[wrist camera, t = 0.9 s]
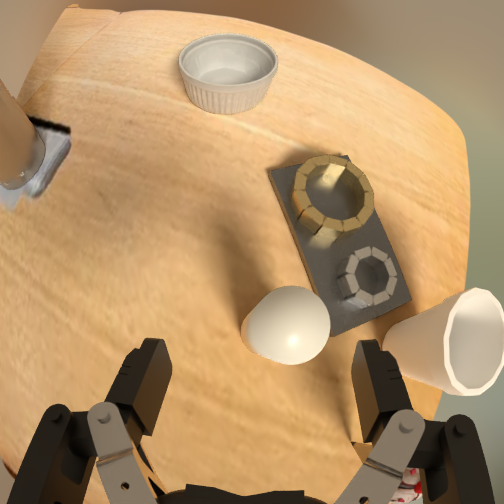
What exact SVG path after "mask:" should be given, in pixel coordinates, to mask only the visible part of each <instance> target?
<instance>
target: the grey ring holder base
mask: <svg viewBox="0 0 504 504" xmlns="http://www.w3.org/2000/svg"><path fill="white" fill-rule="evenodd" d="M363 174H364V173H363V172H362V171H361V170H360V169H359V168H357V167H356V166H355V165H354V164H352V163H351V161H350V159H349V157H348V155H345V156H339V157H336V156H332V155H329V156H328V155H322V156H317V157H312V158H310V159H308V160H307V161H306V162H305V163H304V164H299V165H295V166H290V167H285V168H281V169H276V170H272V171H270V172H269V175H268V177H269V179H270V182H271V184H272V186H273V189H274V191H275V194H276V196H277V198H278V201H279V203H280V206H281V208H282V211H283V213H284V216H285V218H286V221H287V223H288V226H289V228H290V231H291V233H292V236H293V238H294V241H295V243H296V246H297V249H298V251H299V254H300V256H301V259H302V262H303V264H304V267H305V269H306V272H307V275H308V277H309V280H310V283H311V285H312V288H313V291H314V293H315V294H316V295H317V296H318V297H319V298H320V299H321V300H322V301H323V303H324V304H325V306H326V308H327V310H328V313H329V317H330V333H329V335H330V337H334V336H336V335H339V334H341V333H343V332H345V331H348V330H350V329H352V328H355V327H357V326H359V325H361V324H363V323H366V322H368V321H370V320H372V319H374V318H376V317H378V316H381V315H383V314H385V313H387V312H389V311H391V310H393V309H395V308H397V307H399V306H401V305H403V304H405V303H407V302H409V301H411V300H412V299H411V296H410V293H409V291H408V288H407V285H406V282H405V280H404V277H403V274H402V272H401V269H400V267H399V264H398V262H397V259H396V257H395V254H394V252H393V249H392V247H391V244H390V242H389V240H388V237H387V235H386V233H385V231H384V228H383V226H382V224H381V222H380V219H379V217H378V215H377V213H376V211H375V208H374V193H373V189H372V187H371V185H370V183H369V181H368V179H367V177H366V175H365V174H364V175H363Z"/></svg>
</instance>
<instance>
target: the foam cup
mask: <svg viewBox="0 0 504 504" xmlns="http://www.w3.org/2000/svg"><path fill="white" fill-rule="evenodd" d="M382 351H389V352H390V353H391V354H392V355H393V356H394V357H395V359H396V361H397V363H398V366H399V371H400V372H401V375H404V376H406V377H409V378H412V379H415V380H417V381H420V382H423V383H425V384H428V385H431V386H434V387H437V388H440V389H442V390H444V391H445V392H446V393H448V394H454V395H461V396H470V395H480V394H482V393H483V392H484V391H485V390H487V389H488V388H489V387H490V386H491V385H492V384H494V382H495V380H496V378H497V377H498V375H499V373H500V371H501V369H502V367H503V365H504V312H503V310H502V307H501V304H500V303H499V302H498V301H497V299H496V298H495V297H494V296H493V295H492V294H491V292H489V291H487V290H483V289H479V288H472V289H469V290H466V291H462V292H459V293H457V294H455V295H453V296H451V297H449V298H446V299H444V301H443V302H442V303H441V304H439V305H437V306H434V307H432V308H430V309H428V310H426V311H424V312H421V313H419V314H417V315H415V316H413V317H410V318H408V319H406V320H403V321H401V322H399V323H396V324H394V325H393V326H392V327H391V328H390V329H389V330H388V332H387V333H386V335H385V338H384V341H383V344H382Z"/></svg>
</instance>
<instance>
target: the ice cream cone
mask: <svg viewBox="0 0 504 504" xmlns="http://www.w3.org/2000/svg"><path fill="white" fill-rule="evenodd" d="M351 444H352V445H353V447H354V449H355V450H356V452H357V454H358V456H359V457H360V459H361V461H362V463H364V462H365V460H366V459H367V457H368V456H369V454H370V453H371V451H372V449H373V447H372V445H367V444H362V443H356V442H351ZM421 496H422V489H421V481H420V474H419V469H418V468H406V469H405V471H404V473H403V479H402V481H401V483H400V485H399V487H398V488H397V490H396V492H395V493H394V495H393V497H392V498H391V500H390V502H389V503H408V502H411V501H414V500H416V499H418V498H420V497H421Z"/></svg>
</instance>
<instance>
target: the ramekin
mask: <svg viewBox="0 0 504 504" xmlns="http://www.w3.org/2000/svg"><path fill="white" fill-rule="evenodd" d="M178 65H179V71H180V73H181V75H182V77H183V81H184V85H185V89H186V92H187V95H188V97H189V98H190V100H191V101H192V102H193V103H194V104H195V105H196V106H198V107H199V108H201V109H203V110H205V111H207V112H210V113H214V114H220V115H233V114H239V113H243V112H245V111H248V110H250V109H253V108H254V107H256V106H257V105H258V104H259V103H260V102H262V100H263V99H264V98H265V96H266V94H267V92H268V89H269V87H270V84H271V81H272V79H273V77H274V76H275V74H276V72H277V68H278V57H277V55H276V53H275V51H274V50H273V49H272V48H271V47H270V46H269V45H268V44H266V43H265V42H263V41H261V40H259V39H257V38H254V37H251V36H247V35H243V34H236V33H219V34H212V35H208V36H204V37H201V38H199V39H196V40H194V41H192V42H191V43H189V44H188V45H187V46H186V47H185V48H184V49H183V50H182V51H181V53H180V55H179V59H178Z"/></svg>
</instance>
